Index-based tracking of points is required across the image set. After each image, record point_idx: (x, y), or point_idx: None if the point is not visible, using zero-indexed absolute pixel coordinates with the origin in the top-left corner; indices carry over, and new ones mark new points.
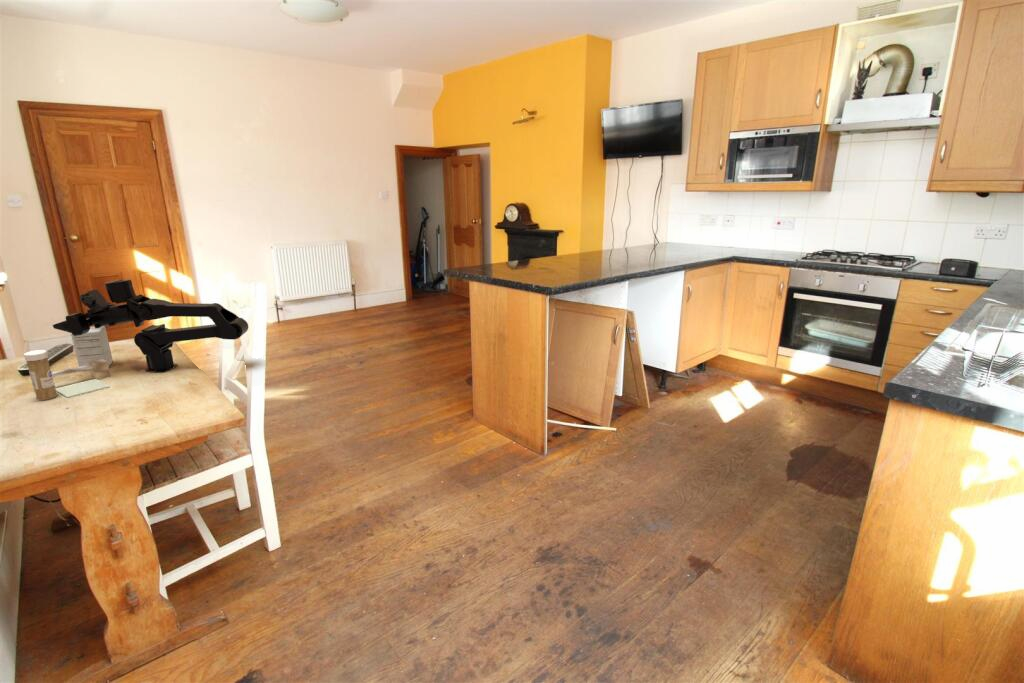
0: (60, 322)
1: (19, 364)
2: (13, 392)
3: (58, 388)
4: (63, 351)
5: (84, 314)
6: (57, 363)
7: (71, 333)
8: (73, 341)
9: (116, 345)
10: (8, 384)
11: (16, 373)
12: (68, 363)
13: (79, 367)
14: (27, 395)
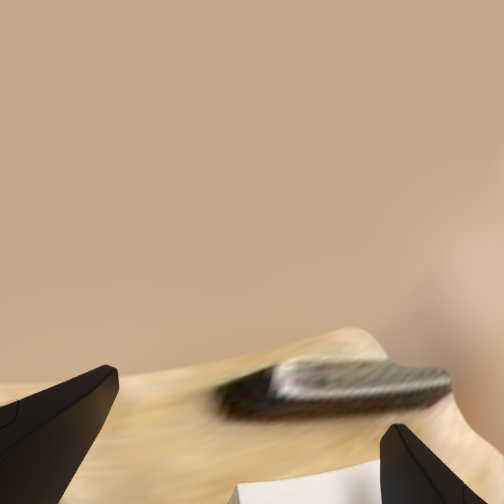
0: (25, 398)
1: (324, 350)
2: None
3: None
4: (424, 388)
5: (433, 499)
6: (328, 426)
7: (246, 484)
8: (230, 501)
9: (485, 472)
10: (141, 374)
11: (245, 368)
12: (325, 456)
13: None
14: None
